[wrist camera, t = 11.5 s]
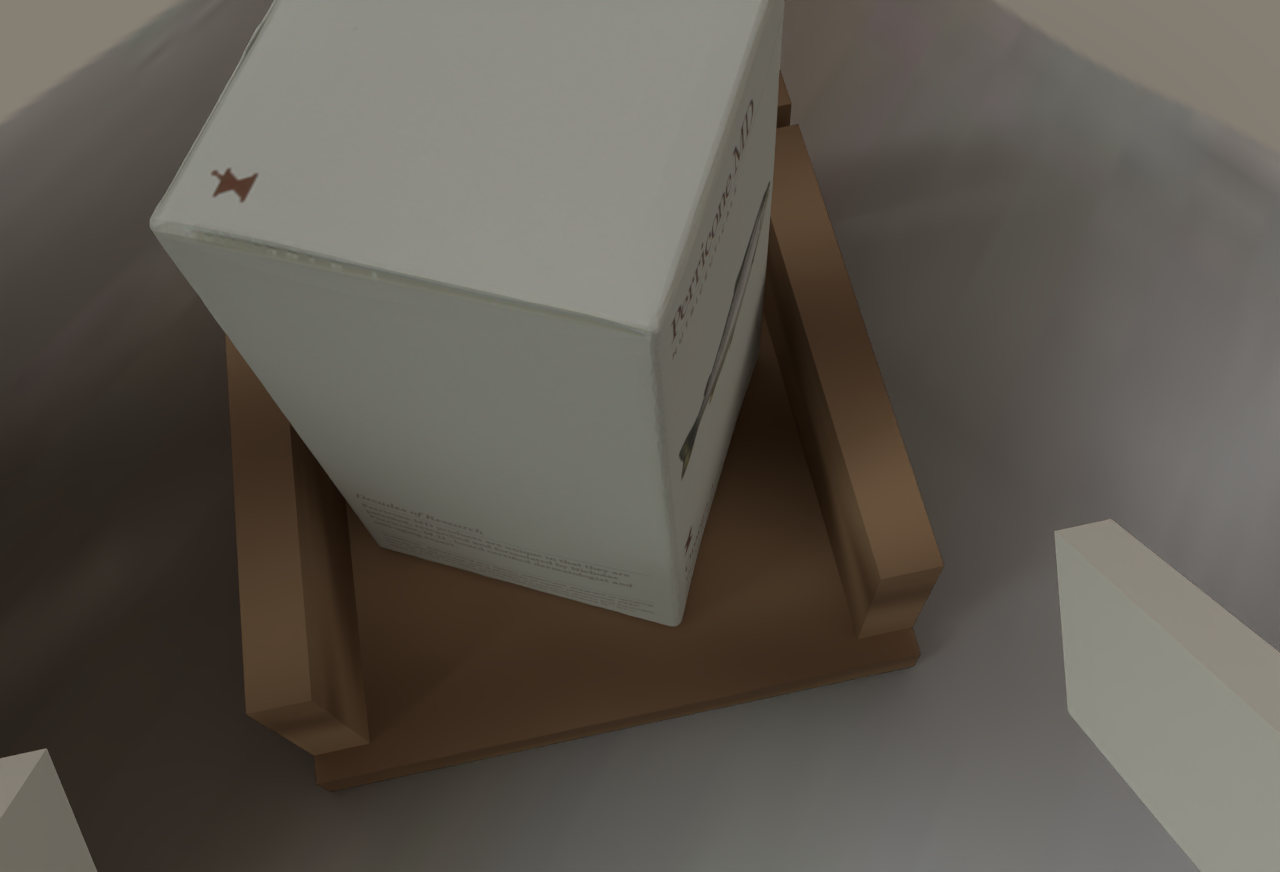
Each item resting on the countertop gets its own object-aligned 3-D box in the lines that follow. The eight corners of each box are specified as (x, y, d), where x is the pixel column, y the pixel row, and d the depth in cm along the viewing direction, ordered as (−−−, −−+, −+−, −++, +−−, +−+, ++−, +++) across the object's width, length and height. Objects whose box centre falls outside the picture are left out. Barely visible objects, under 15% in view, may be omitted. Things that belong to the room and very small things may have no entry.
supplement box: (684, 639, 26) (656, 351, 14) (371, 549, 27) (116, 221, 16) (770, 351, 29) (805, -78, 17) (484, 283, 30) (339, -158, 19)
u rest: (913, 666, 26) (954, 596, 22) (330, 791, 26) (247, 747, 21) (769, 196, 32) (777, 63, 27) (288, 294, 31) (216, 174, 27)
